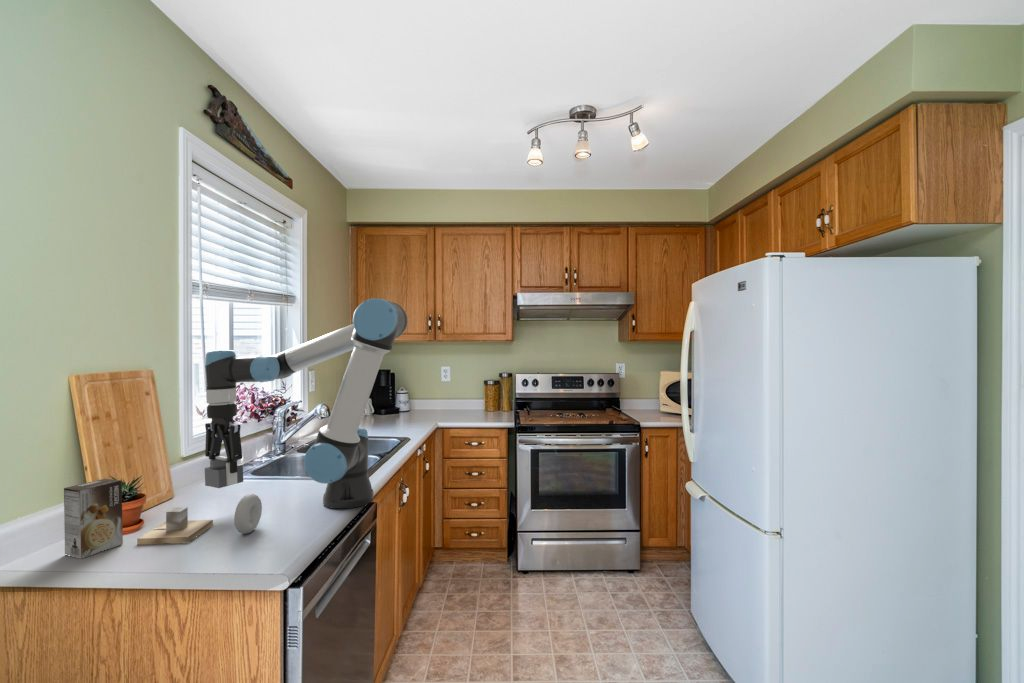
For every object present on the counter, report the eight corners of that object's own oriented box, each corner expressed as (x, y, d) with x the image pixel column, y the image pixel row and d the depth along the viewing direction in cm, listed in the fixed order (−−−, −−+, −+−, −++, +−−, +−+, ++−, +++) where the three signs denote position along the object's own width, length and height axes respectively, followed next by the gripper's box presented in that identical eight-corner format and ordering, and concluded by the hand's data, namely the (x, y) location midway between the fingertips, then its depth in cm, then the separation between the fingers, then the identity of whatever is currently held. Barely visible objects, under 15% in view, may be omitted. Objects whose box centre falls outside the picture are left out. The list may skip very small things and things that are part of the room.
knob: (243, 481, 144) (242, 455, 144) (219, 488, 138) (218, 460, 138) (229, 479, 148) (228, 453, 148) (205, 485, 142) (204, 458, 142)
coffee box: (106, 541, 125) (106, 477, 125) (123, 544, 122) (123, 479, 122) (63, 555, 116) (63, 487, 116) (80, 559, 114) (80, 490, 114)
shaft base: (212, 525, 135) (212, 501, 135) (188, 542, 123) (188, 516, 123) (166, 526, 134) (166, 502, 134) (137, 544, 122) (137, 518, 122)
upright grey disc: (244, 540, 125) (244, 500, 125) (231, 540, 125) (231, 500, 125) (264, 525, 135) (264, 488, 135) (251, 525, 135) (251, 488, 135)
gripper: (255, 402, 141) (257, 483, 141) (215, 400, 151) (217, 475, 151) (229, 406, 135) (231, 490, 135) (189, 403, 145) (191, 482, 145)
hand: (224, 482), depth 143 cm, fingers closed on knob, 7 cm apart
